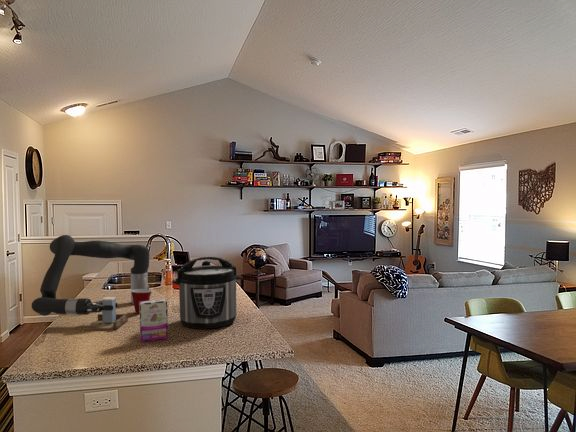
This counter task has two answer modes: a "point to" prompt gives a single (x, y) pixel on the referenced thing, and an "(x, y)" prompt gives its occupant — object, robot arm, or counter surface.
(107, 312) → the block
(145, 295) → the plastic cup
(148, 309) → the candy bar box
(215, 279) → the pressure cooker
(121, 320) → the shallow wooden tray
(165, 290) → the counter surface
